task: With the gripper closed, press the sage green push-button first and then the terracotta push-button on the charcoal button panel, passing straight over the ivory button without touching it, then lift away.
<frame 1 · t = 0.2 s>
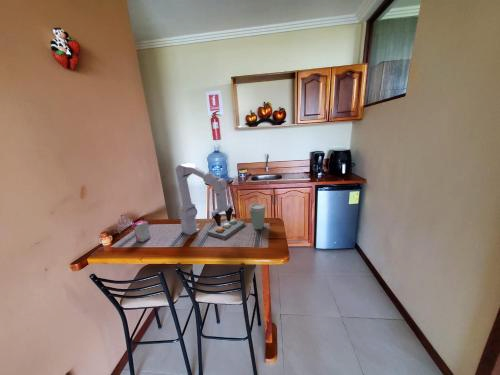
hand: (224, 223, 112), 10 cm above the table, fingers open, 7 cm apart
button panel: (227, 229, 126), on the table
green button: (232, 221, 131), point 3 cm above the table, slide at 0.0 cm
ivory button: (226, 225, 126), point 3 cm above the table, slide at 0.0 cm
terracotta button: (220, 230, 120), point 3 cm above the table, slide at 0.0 cm
disposable coffee cup: (258, 227, 126), on the table
supplement box: (143, 240, 120), on the table
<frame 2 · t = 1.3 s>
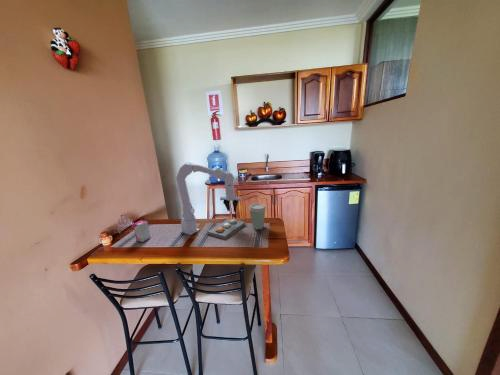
hand: (231, 210, 129), 10 cm above the table, fingers open, 4 cm apart
nothing on the table moved.
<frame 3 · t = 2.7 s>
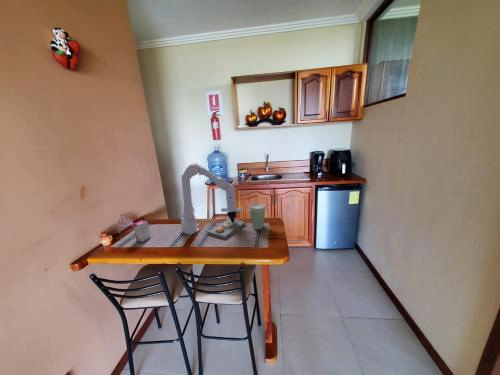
hand: (232, 221, 131), 3 cm above the table, fingers closed, pressing on green button
green button: (233, 223, 131), point 2 cm above the table, slide at 1.0 cm, touching gripper
everything else where it was.
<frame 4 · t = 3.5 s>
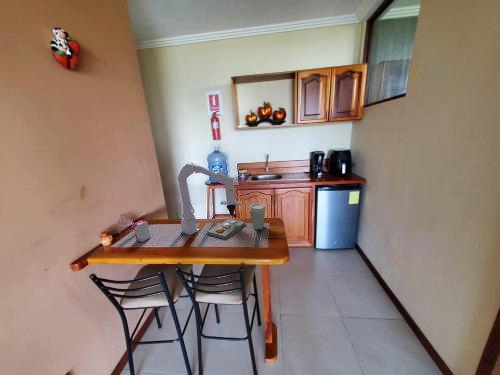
hand: (232, 215, 130), 7 cm above the table, fingers closed
green button: (233, 223, 131), point 2 cm above the table, slide at 1.0 cm
everything else where it was.
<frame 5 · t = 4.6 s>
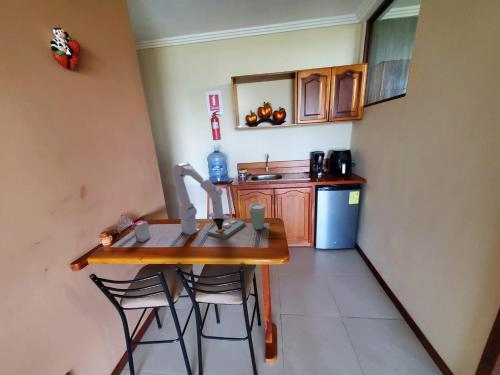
hand: (220, 228, 120), 3 cm above the table, fingers closed, pressing on terracotta button
terracotta button: (220, 230, 120), point 2 cm above the table, slide at 0.3 cm, touching gripper
everything else where it was.
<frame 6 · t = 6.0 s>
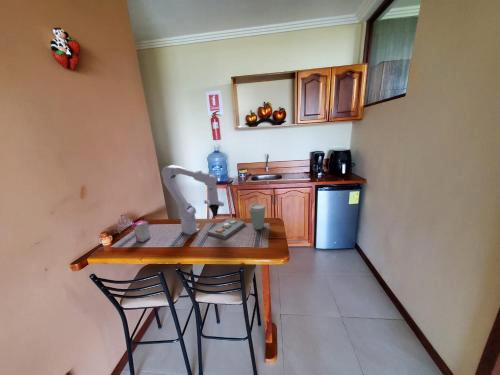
hand: (215, 215, 123), 10 cm above the table, fingers closed
terracotta button: (220, 231, 121), point 2 cm above the table, slide at 1.0 cm
everything else where it was.
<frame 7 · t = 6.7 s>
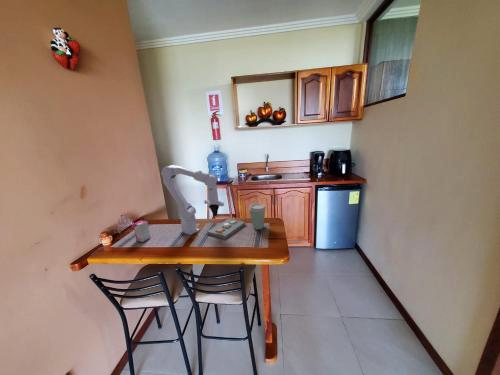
hand: (215, 215, 123), 10 cm above the table, fingers closed
nothing on the table moved.
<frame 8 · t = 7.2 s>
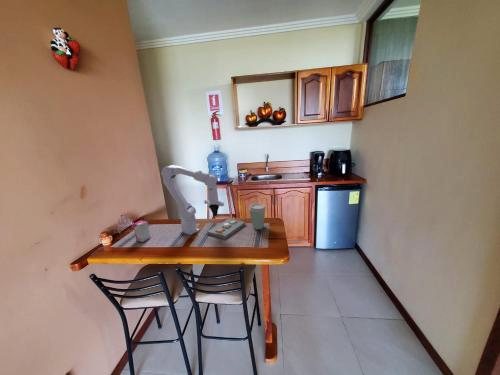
hand: (215, 215, 123), 10 cm above the table, fingers closed
nothing on the table moved.
at the end: green button slide at 1.0 cm; terracotta button slide at 1.0 cm; ivory button slide at 0.0 cm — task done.
